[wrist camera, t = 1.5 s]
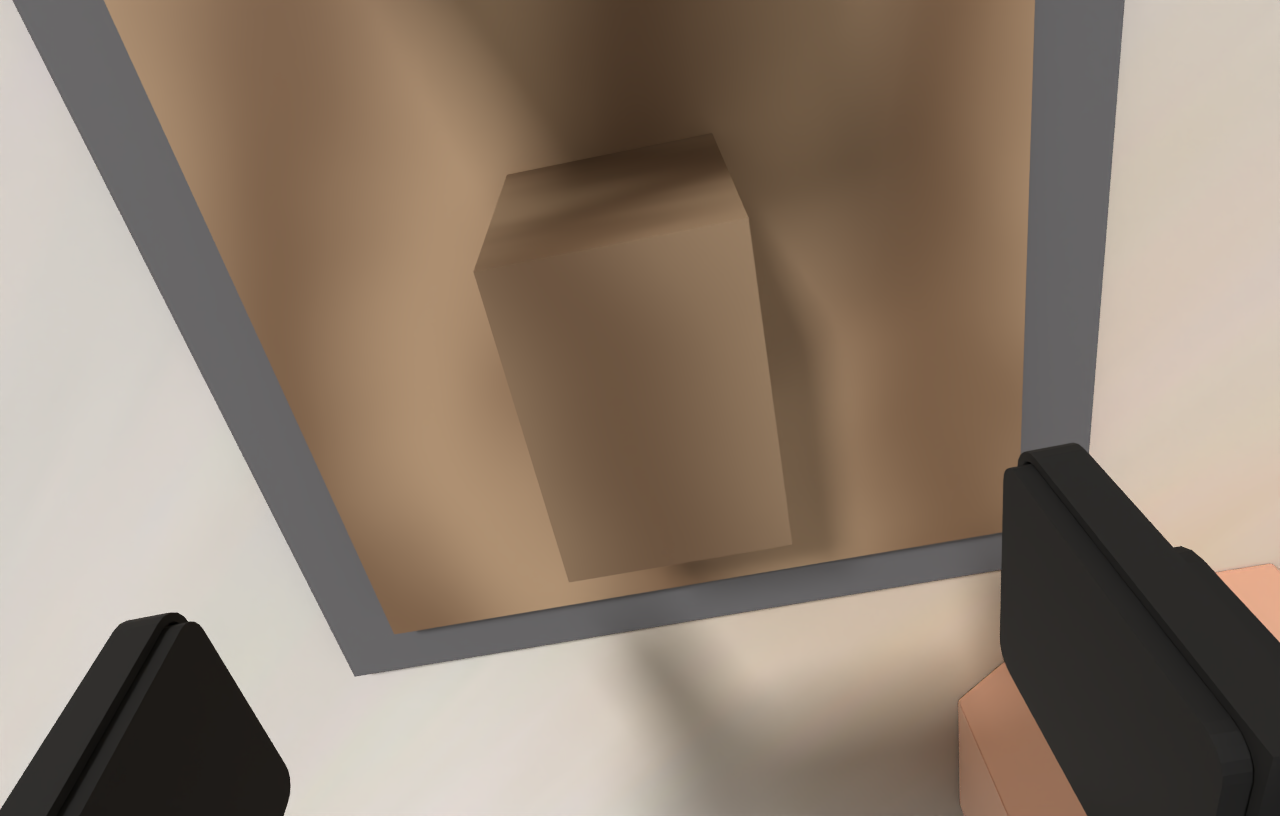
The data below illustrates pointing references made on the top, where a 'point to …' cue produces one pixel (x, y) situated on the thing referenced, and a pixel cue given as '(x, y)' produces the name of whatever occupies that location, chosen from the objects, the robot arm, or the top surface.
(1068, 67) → the mat
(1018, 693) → the open box
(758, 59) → the lid
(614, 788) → the top surface
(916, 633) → the top surface
